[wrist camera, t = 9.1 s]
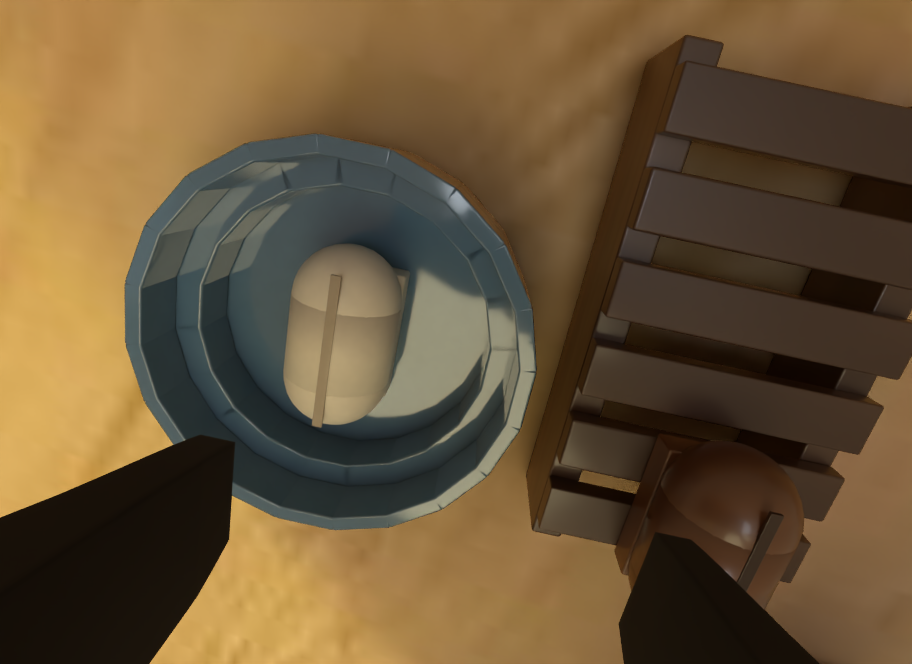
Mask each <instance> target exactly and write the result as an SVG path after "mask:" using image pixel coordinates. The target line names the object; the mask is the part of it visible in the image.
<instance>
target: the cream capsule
mask: <svg viewBox="0 0 912 664" xmlns="http://www.w3.org/2000/svg"><path fill="white" fill-rule="evenodd" d="M409 276H410V272H409V271H407V270H402V269H398V268H393V267H391V265H390V264H389V263H388V262H387V261H386V260H385V259H384V258H383V257H382V256H381V255H379V254H378V253H376V252H375V251H373V250H371V249H369V248H366V247H364V246H361V245H357V244H349V243H347V244H335V245H331V246H328V247H325V248H323V249H321V250H319V251H317V252H315V253H314V254H313V255H311V256H310V257H309V258H308V259H307V260H306V261H305V262H304V263H303V264H302V266H301V267H300V268H299V270H298V272H297V274H296V276H295V279H294V282H293V287H292V291H291V300H290V310H289V320H288V330H287V340H286V349H285V359H284V369H283V376H284V383H285V387H286V391H287V394H288V396H289V398H290V400H291V401H292V403H293V404H294V405H295V407H296V408H297V409H298V410H299V411H300V412H301V413H303V414H304V415H306V416H307V417H309V418H311V419H312V426H315V427H320V428H321V427H322V424H323V423H324V424H331V425H341V424H347V423H350V422H353V421H356V420H358V419H361V418H362V417H364V416H365V415H367V414H368V413H369V412H371V411H372V410H373V409H374V408H375V407H376V406H377V404H378V403H379V402H380V400H381V399H382V397H383V396H385V395H386V393H387V391H388V388H389V386H390V383H391V378H392V372H393V366H394V361H395V355H396V349H397V344H398V338H399V333H400V327H401V321H402V316H403V310H404V304H405V299H406V293H407V287H408V282H409Z"/></svg>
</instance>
